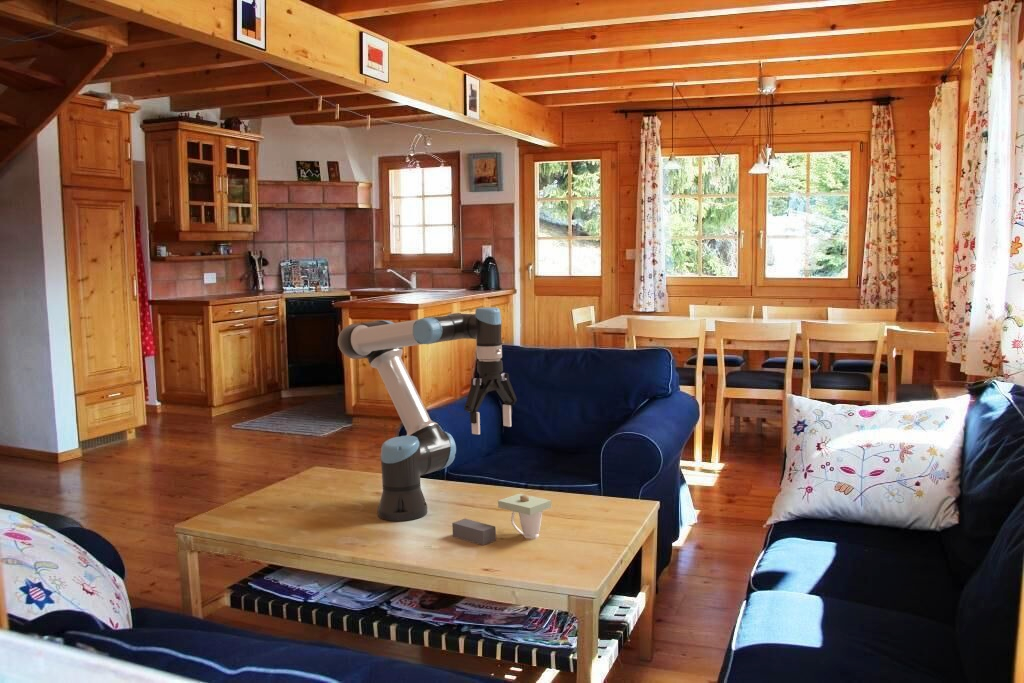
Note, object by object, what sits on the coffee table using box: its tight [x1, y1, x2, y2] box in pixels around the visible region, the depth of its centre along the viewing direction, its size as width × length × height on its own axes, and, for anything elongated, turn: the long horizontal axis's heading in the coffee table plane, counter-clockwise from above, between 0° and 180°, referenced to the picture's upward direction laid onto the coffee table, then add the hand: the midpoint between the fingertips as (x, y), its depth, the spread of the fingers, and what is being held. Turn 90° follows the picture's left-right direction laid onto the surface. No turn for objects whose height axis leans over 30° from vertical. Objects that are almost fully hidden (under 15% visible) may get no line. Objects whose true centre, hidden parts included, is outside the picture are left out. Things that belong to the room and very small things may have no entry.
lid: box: [497, 493, 552, 515], centre depth 245 cm, size 12×9×3 cm
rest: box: [452, 518, 497, 546], centre depth 244 cm, size 12×5×4 cm, turn 48°
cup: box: [510, 511, 543, 540], centre depth 245 cm, size 7×10×8 cm
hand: (492, 430), depth 260 cm, fingers open, 13 cm apart
